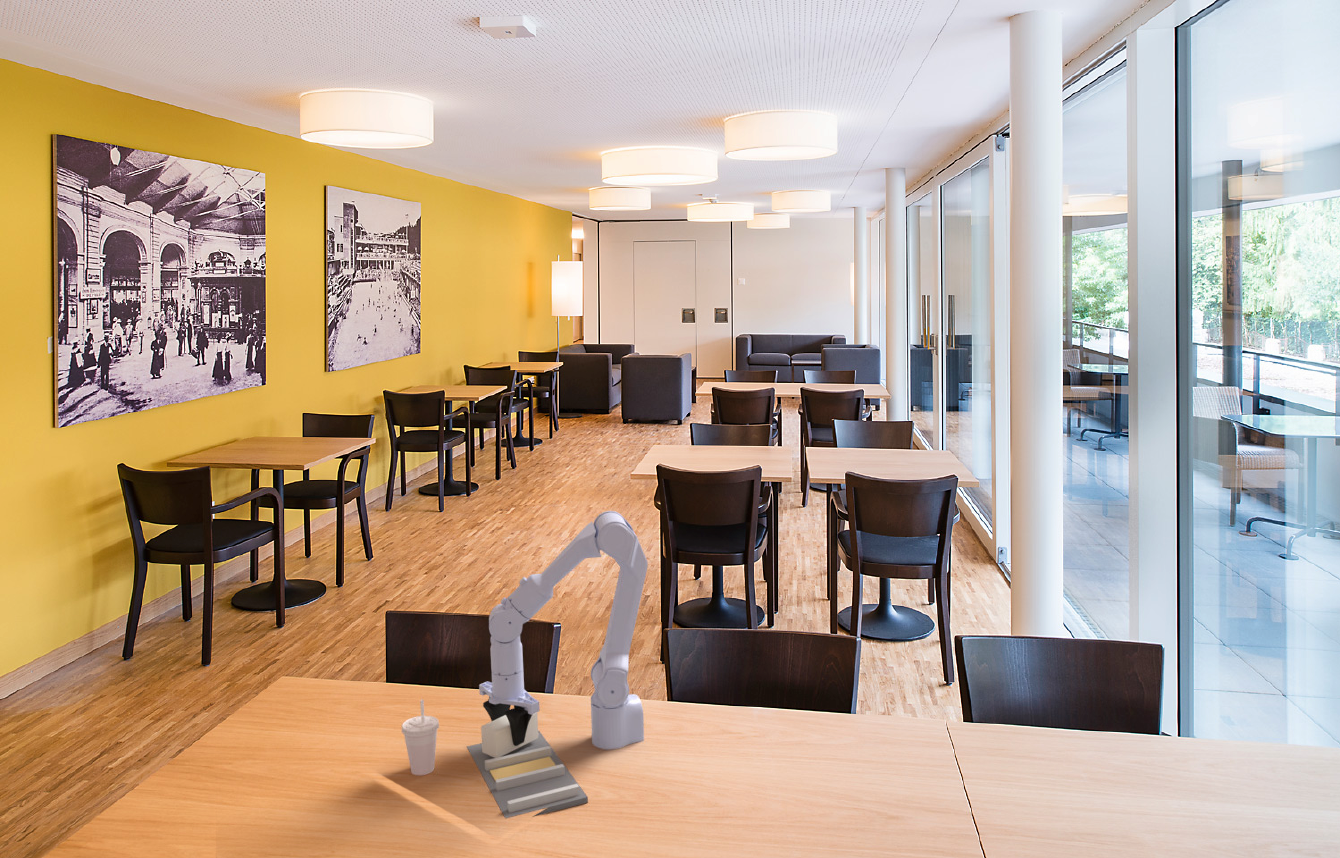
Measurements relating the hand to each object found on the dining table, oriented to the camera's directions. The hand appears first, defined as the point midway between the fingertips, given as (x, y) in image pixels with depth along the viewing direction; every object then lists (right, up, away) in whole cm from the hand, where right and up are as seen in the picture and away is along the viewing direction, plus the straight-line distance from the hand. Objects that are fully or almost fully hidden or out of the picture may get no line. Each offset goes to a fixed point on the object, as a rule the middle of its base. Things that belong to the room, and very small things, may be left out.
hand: (510, 740), depth 168 cm
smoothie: (-14, -4, -6) cm, 16 cm away
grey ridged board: (+4, -4, -7) cm, 9 cm away
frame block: (0, -1, 0) cm, 1 cm away
